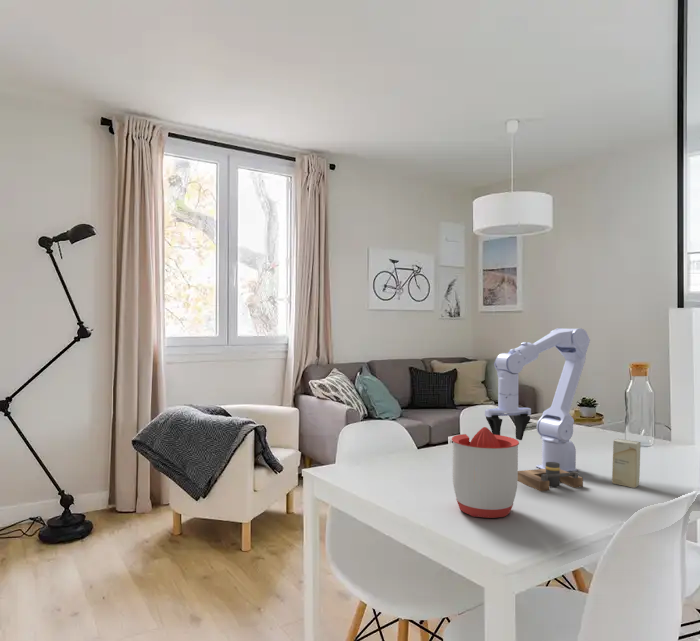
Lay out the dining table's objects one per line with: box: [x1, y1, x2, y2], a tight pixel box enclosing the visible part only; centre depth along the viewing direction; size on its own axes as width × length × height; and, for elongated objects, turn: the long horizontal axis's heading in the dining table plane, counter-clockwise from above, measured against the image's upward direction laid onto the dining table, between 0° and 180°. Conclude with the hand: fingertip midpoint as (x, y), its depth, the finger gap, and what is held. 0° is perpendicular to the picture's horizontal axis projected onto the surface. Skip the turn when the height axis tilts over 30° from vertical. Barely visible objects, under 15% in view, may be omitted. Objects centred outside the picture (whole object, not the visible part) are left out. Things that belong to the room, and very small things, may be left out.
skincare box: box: [611, 438, 642, 489], centre depth 154 cm, size 6×4×12 cm
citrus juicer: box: [451, 426, 520, 519], centre depth 132 cm, size 16×17×20 cm
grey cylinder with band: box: [546, 462, 561, 488], centre depth 153 cm, size 4×4×6 cm
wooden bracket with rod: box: [517, 468, 584, 492], centre depth 154 cm, size 14×11×4 cm
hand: (507, 440), depth 162 cm, fingers open, 7 cm apart
